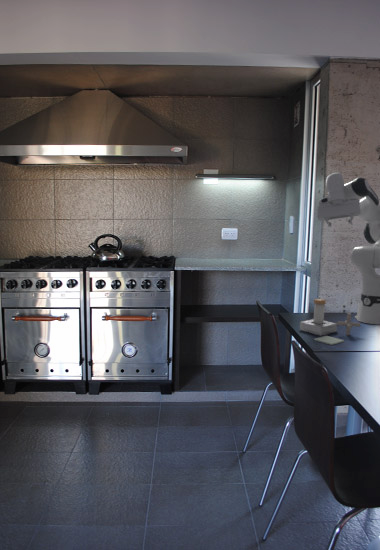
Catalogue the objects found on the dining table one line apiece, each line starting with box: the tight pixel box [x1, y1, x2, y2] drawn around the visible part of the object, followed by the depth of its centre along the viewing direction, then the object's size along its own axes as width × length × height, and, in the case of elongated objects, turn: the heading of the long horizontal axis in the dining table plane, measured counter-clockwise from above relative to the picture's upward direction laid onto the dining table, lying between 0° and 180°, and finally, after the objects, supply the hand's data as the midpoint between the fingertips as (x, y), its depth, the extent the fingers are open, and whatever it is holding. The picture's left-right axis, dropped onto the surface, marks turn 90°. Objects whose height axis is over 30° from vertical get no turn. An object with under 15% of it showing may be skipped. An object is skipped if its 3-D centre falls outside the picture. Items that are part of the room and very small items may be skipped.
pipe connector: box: [336, 312, 361, 336], centre depth 206 cm, size 10×10×10 cm
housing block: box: [299, 318, 338, 337], centre depth 212 cm, size 12×12×4 cm
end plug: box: [313, 298, 327, 325], centre depth 211 cm, size 5×5×15 cm
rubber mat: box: [313, 335, 345, 346], centre depth 196 cm, size 9×9×1 cm
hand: (340, 225), depth 217 cm, fingers open, 8 cm apart
